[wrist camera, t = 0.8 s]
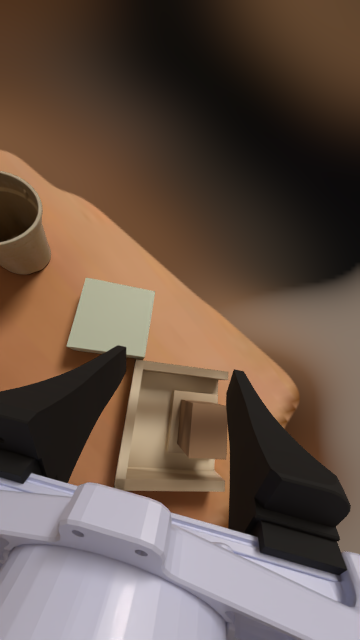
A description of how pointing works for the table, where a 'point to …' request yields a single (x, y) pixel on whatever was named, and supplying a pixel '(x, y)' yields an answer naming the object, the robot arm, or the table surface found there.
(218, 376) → the birch box
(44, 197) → the table surface
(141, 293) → the sage stand
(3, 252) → the flower pot
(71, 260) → the table surface
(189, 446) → the walnut block
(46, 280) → the table surface
